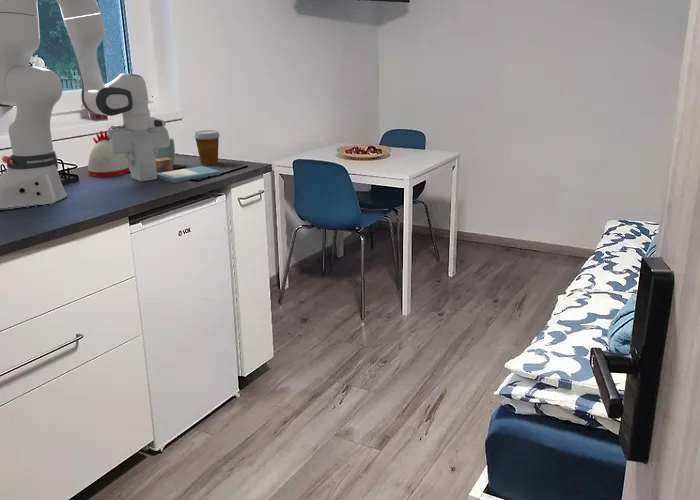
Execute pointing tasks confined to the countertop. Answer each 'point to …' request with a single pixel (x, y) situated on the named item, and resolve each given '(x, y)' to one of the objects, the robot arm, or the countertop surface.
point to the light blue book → (187, 174)
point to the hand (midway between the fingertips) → (142, 163)
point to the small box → (143, 161)
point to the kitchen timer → (106, 159)
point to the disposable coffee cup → (207, 146)
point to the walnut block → (164, 165)
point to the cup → (167, 151)
